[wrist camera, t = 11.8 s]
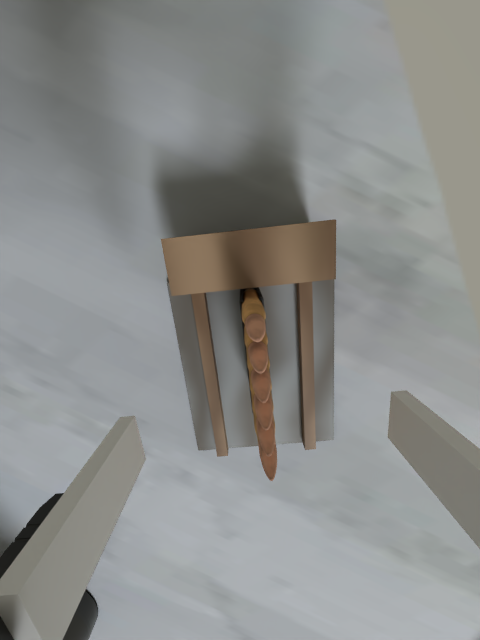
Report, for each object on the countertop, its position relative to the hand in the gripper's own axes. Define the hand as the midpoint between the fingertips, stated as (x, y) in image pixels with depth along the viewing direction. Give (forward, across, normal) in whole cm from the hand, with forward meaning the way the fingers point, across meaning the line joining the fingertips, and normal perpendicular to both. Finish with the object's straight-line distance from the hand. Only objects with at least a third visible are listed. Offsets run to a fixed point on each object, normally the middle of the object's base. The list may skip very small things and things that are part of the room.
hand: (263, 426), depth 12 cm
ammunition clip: (+13, 0, 0) cm, 13 cm away
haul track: (+13, 0, -1) cm, 13 cm away
